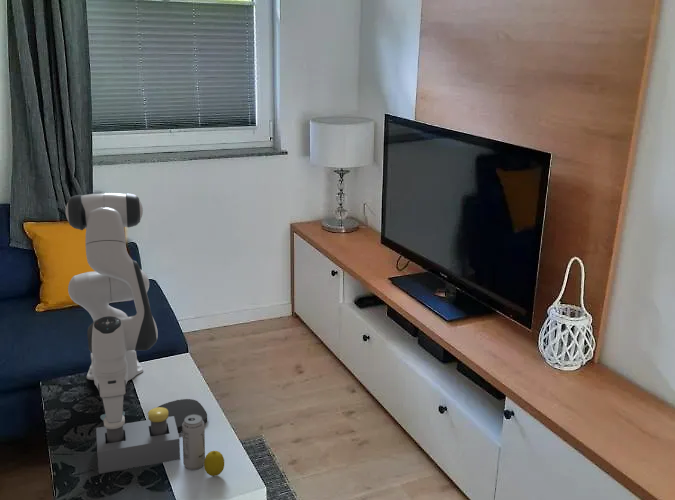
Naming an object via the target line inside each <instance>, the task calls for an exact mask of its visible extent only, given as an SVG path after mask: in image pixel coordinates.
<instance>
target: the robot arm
mask: <svg viewBox="0 0 675 500" xmlns="http://www.w3.org/2000/svg"><path fill="white" fill-rule="evenodd" d="M143 211H144V208H143V204H142V202H141V201H140V197H138V195H136V194H134V193H130V192H129V193H128V192H126V193H119V192H102V193H89V194H83V195H82V194H77V195H76V194H74V195H72V196H71V197H69V199H68V200H67V203H66V205H65V216H66V219H67V221H68V223H69V226H71V227H72V228H73V229H77V230H80V231H84V230H85V257H86V261H87V264H88V266H89V267H90V269H92V270H93V271H86V272H83V273H79V274H76V275H73V276H72V277H71V279H70V280H69V282H68V286H67V287H68V288H67V289H68V290H67V292H68V295H69V297H70V299H71V300H72V302H73V303H74V304H76V305H79V306H80V307H82V308H83V309H85V310H86V311H87V312H88V313H89V315H90V316H91V319H92V323H91V324H90V325H89V326H88V327H87V331H86V334H87V344H88V350H89V351H90V360H91V364H90V366H89V369H88V372H87V375H86V380H89V381H90V380H91V381H93V382H94V385H95V386H96V388H97V390H98V392H99V396H100V398H101V399H102V403H103V408H104V414H106V418H107V422H108V423H117V422H121V421H122V415H123V411H124V395H126V389H127V388H126V387H127V384H128V381H130V380H132V379H133V378H135V377H136V376H137V375H139V374H141V373H144V368H143V366H142V365H141V363H140V362H139V360H138V357H137V351H148V350H150V349H151V348H152V347H154V345H155V344H156V343H157V342H158V341H157V340H158V335H159V334H158V328H157V327H158V326H157V323H156V321H155V319H154V317H153V315H152V314H153V313H152V310H151V309H152V308H151V306H150V300H149V297H148V291H149V288H150V280H149V277H148V275H147V273H146V272H145V271H144V270H142V269H141V267H140V265H139V263H138V262H137V261H136V260H134V259H132V257H131V256H130V255H129V253H128V249H127V240H126V232H125V228H126V227H127V228H132V227H137V226H138V225H139V224H140V223H141V219H142V217H143V213H144V212H143ZM130 301H133V302H134V306H135V310H136V313H135V315H131V316H128V314H127V313H126V312H124V311H123V310H121V309H119V308H115V307H113V306H111V305H109V304H110V303H119V302H130Z"/></svg>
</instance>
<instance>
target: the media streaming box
mask: <svg viewBox="0 0 675 500" xmlns="http://www.w3.org/2000/svg"><path fill="white" fill-rule="evenodd" d="M157 407H163V408H166V409H167V410H168V417H171V416H174V418H175V422H176V426H177V431H178V434H180V433H182V424H183V422H184V419H185V417H186V416H188V415H192V414H197V415H200V416H201V417H202V420H203V421H204V426H205V425H206V424H207V423H208V412H207V411H206V409H205V408H204V407H203V405H202V404H201V402H199V401H198V400H196V399H193V398H181V399H176V400H172V401H168V402H166V403H163V404H161V405H159V406H158V405H157Z"/></svg>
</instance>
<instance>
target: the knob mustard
mask: <svg viewBox="0 0 675 500" xmlns="http://www.w3.org/2000/svg"><path fill="white" fill-rule="evenodd" d="M147 418H148V419H147V420H150V421H151V436H157V435H164V434H167V420H166V419H167V418H168V410H167V409H166V408H163V407H158V406H157V407H154V408H152V409H150V410H149V411H148V413H147Z"/></svg>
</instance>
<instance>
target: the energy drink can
mask: <svg viewBox="0 0 675 500" xmlns="http://www.w3.org/2000/svg"><path fill="white" fill-rule="evenodd" d="M205 432H206V431H205V425H204V421H203V420H202V417H201V416H200V415H197V414H192V415H188V416H186V417H185V419H184V422H183V424H182V432H181V433H182V454H183V455H182V456H183V459H182V461H183V465H184V467H185V468H186V469H187V470H190V471H196V470H200V469H201V468H202V467H204V460H205V457H206V450H205V449H206V443H205V442H206V441H205V439H206V437H205Z"/></svg>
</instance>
